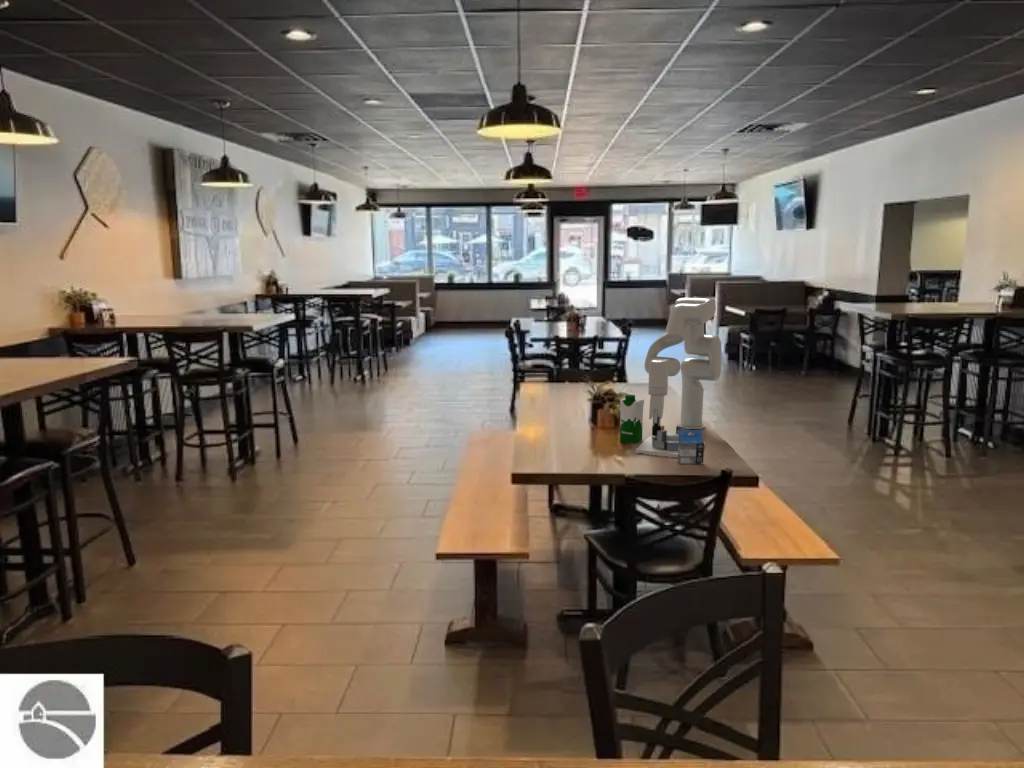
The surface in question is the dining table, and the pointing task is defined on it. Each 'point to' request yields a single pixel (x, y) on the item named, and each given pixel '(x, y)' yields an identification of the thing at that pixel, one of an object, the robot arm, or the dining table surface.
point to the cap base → (651, 450)
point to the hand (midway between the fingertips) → (656, 435)
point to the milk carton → (631, 419)
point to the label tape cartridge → (690, 447)
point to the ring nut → (661, 440)
